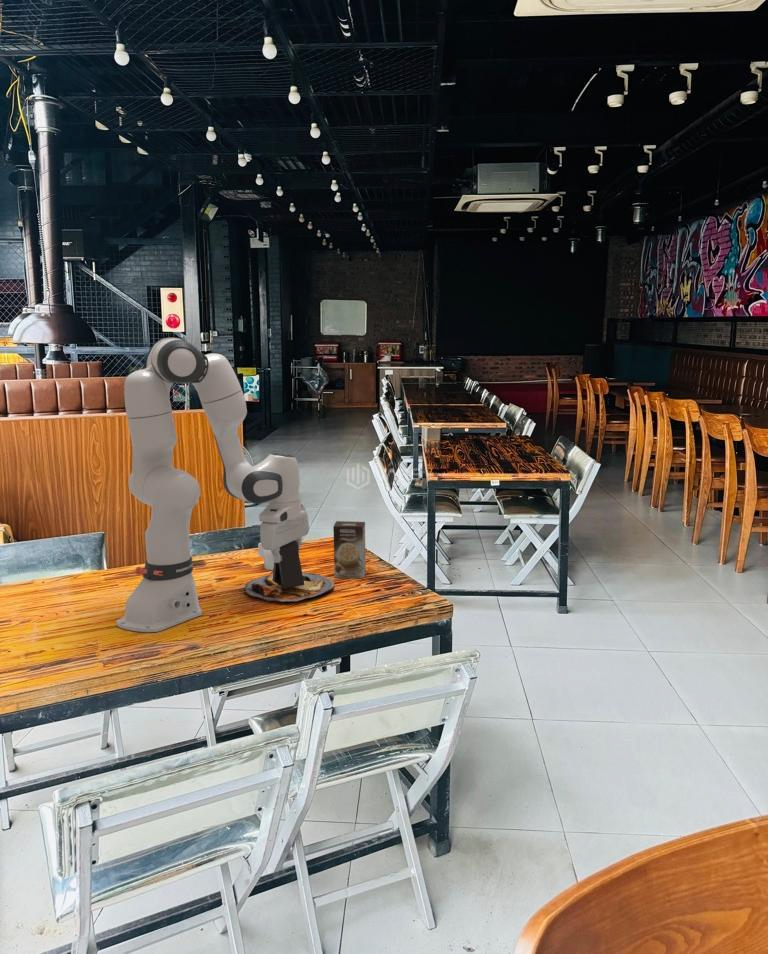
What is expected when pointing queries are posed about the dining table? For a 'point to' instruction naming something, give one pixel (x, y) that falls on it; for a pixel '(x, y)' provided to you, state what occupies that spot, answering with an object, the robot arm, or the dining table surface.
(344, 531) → the coffee box
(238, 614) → the dining table surface
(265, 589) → the food plate
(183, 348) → the robot arm
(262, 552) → the white ceramic cup
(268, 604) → the dining table surface
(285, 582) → the door stopper
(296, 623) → the dining table surface
